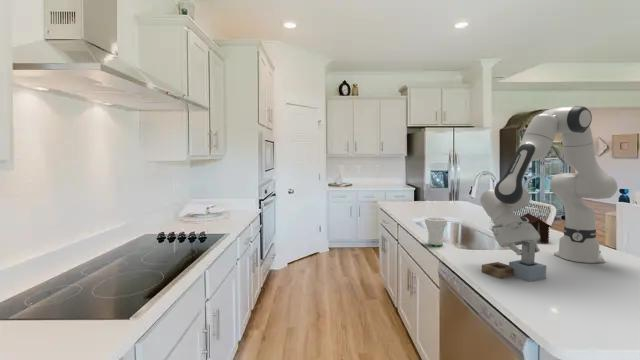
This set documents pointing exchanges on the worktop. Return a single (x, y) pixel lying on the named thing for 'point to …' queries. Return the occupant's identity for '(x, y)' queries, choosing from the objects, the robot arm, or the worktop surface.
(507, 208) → the robot arm
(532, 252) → the tall brushed metal pillar
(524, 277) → the block
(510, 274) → the socket block
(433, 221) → the cup
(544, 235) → the model building
